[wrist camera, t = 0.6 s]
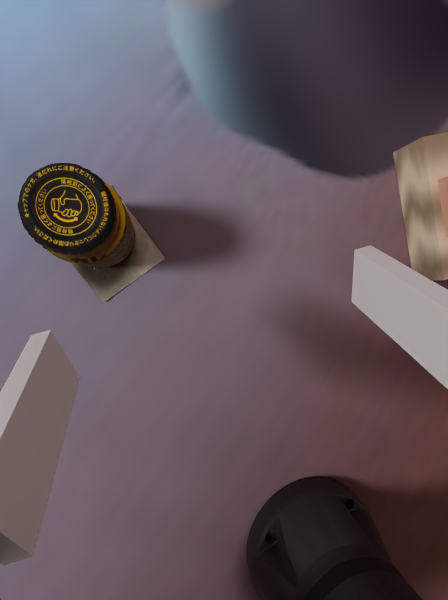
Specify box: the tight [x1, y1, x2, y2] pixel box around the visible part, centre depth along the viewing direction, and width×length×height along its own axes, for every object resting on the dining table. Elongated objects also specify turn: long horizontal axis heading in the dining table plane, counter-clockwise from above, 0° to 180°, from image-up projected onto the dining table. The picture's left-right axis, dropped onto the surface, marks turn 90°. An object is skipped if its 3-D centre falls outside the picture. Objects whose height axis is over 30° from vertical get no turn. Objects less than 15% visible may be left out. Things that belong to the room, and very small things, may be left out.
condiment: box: [18, 163, 165, 303], centre depth 23 cm, size 7×8×12 cm
